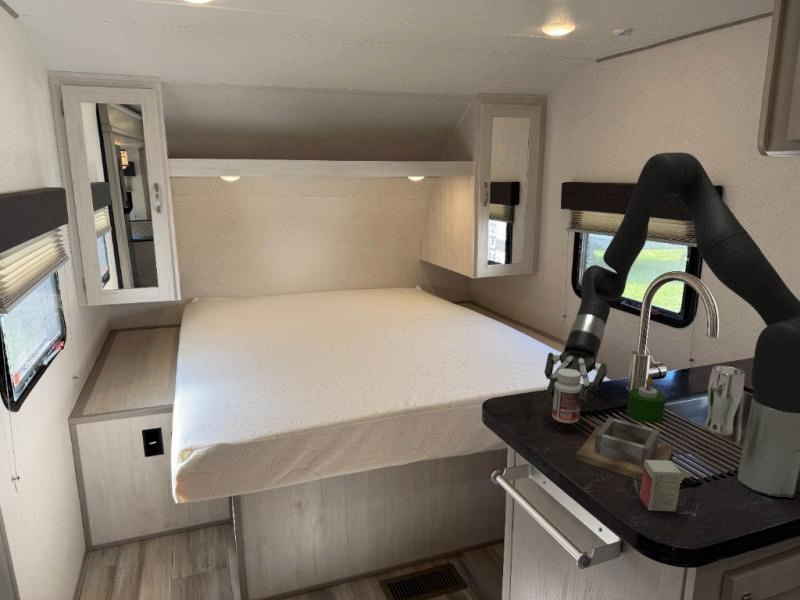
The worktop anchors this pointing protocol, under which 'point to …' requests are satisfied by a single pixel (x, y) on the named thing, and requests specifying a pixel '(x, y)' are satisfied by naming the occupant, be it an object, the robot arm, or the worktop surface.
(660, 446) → the holder
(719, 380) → the beer glass
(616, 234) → the robot arm
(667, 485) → the small box
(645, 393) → the candle
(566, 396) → the pill bottle
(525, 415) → the worktop surface
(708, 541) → the worktop surface
